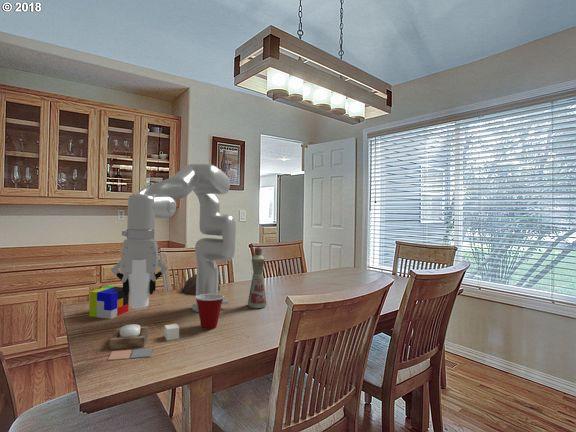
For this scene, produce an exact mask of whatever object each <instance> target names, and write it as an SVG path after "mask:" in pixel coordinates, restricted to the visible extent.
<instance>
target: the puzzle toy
mask: <svg viewBox="0 0 576 432" xmlns="http://www.w3.org/2000/svg"><path fill="white" fill-rule="evenodd" d="M129 303H130V299H129V293H128V295H127V296H125V292H123V286H114V285H113V286H112V285H107V286H104V287H100V288H97V289H94V290H92V291H91V290H90V291H89V308H88V311H89V312H88V313H89V315H88V316H89V317H93V318H100V319H110V320H111V319H114V318H116V317H119V316H120V315H124V314H125V313H127V312H129Z"/></svg>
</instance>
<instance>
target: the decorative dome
mask: <svg viewBox="0 0 576 432" xmlns="http://www.w3.org/2000/svg"><path fill="white" fill-rule="evenodd" d="M196 277H197V273H195V274H194V275H192V276H190V277H189V278H188V279H187V280H186V281H185V284H184V286H183V287H182V292H183V291H184V292H183V293H185V295H191V294H192V296H195V295H196ZM220 291H221V286H220V284H219V282H218V292H220Z"/></svg>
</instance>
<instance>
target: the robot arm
mask: <svg viewBox="0 0 576 432" xmlns="http://www.w3.org/2000/svg"><path fill="white" fill-rule="evenodd" d="M230 187H231V181H230V179H229V176H228V175H227V174H225V172H223V171H222V170H221V169H220V168H218V167H217V166H216V165H214V164H211V163H208V164H207V163H190V164H187V165H185V166H184V167H182V168H181V169H179V170H178V171H177V172H176V173H174V175H172V176H171V177H169V178H166V179H162V180H159V181H158V182H155V183H152V184H150V185H149V184H148V185H146V186H145V187H143V188H141V190H139V191H138V192H137V193H136V194H135V193H134V194H130V195H129V196H128V198H127V229H126V230H122V231H121V236H122V237H123V236H125V237H126V239H123V243H122V246H121V247H122V248H121V255H120V257H121V258H120V261H119V262H118V263H116V265H114V266H113V267H112V268H111V269H110V271H111V273H112V274H114V275H115V276H116V277H117V278H118V279H119V280H120V281H121V282H122V287H123V292H125V296H127V295H128V293H129V283H128V274H131V273H132V260H144V259H146V273H151V274H150V277H151V281H150V293H149V295H153V294H154V292H156V283H157V282H156V281H157V280H158V279H159V278H160V277H161V276H162V275H163V274H164V273H166V271H167V270H168V266H167V265H165V264H164V263H163V262H162V261H161V260H160V259H159V249H158V242H157V241H158V240H157V239H155V226H156V225H155V219H169V218H171V217H173V215H175V213H176V211H177V203H176V201H177V200H181V199H184V198H186V197H187V196H189V195H190V193H192V192H193V193H194V194H195V195H196V197H197V198H198V202H199V231H200V233H201V234H203V235H206V236H219V237H222V238H213V237H203V238H200V239H198V240H197V242H195V246H194V252H195V253H194V254H195V257H196V258H195V260H196V274H197V277H196V296H198V295H202V294H218V293H219V291H218V283H219V273H220V272H219V267H218V264H217V262H216V261H224V262H229V261H232V259H234V256H235V252H236V235H237V234H236V232H237V229H236V227H237V226H236V220H235V218H234V217H233V216H232V215H230V214H226V213H225V214H223V213H221V214H220V206H221V205H220V201H219V199H218V197H217V196H216V195H225V194H227V193H228V192H229V190H230ZM158 267H159V268H160V270H159V271H158ZM119 269H120V270H119ZM196 296H195V297H196ZM221 305H229V299H224V298H223V301H222V304H221ZM191 310H192V311H193V312H196V313H199V310H198V304H197V300H196V299H195V303H194V304H192V306H191Z"/></svg>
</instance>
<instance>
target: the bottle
mask: <svg viewBox="0 0 576 432" xmlns="http://www.w3.org/2000/svg"><path fill="white" fill-rule="evenodd" d="M265 259H266V258H265V257H264V255H263V248H262V247H260V246H257V247H255V248H254V255H253V256H252V257H251V265H252V271H253V272H252V273H253V274H252V278H251V284H250V290H249V295H248V299H247V300H248V301H247V305H248V307H249V308H250V309H262V308H266V306H267V296H266V289H265V287H266V286H265V280H264V275H263V272H264V266H265V261H266V260H265Z"/></svg>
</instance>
